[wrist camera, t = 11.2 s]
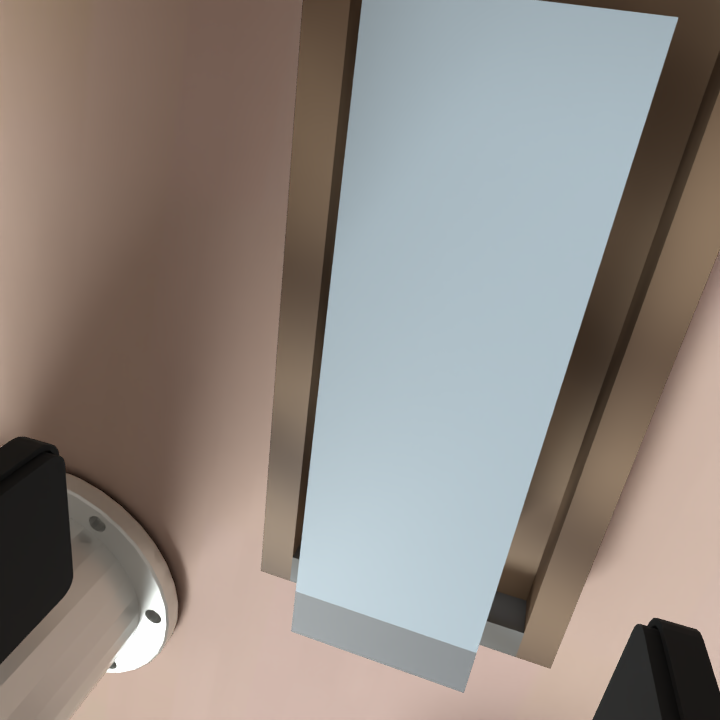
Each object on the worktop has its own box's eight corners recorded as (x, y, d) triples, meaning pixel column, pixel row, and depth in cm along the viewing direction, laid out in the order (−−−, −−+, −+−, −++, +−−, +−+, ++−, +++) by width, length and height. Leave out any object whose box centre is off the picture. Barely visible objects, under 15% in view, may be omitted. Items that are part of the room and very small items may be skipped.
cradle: (551, 603, 24) (550, 668, 21) (291, 521, 26) (260, 571, 24) (819, -104, 14) (878, -144, 11) (356, -140, 16) (316, -182, 13)
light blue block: (431, 10, 16) (364, -21, 10) (637, 37, 15) (678, 17, 9) (353, 503, 23) (291, 631, 18) (487, 544, 22) (463, 692, 17)
